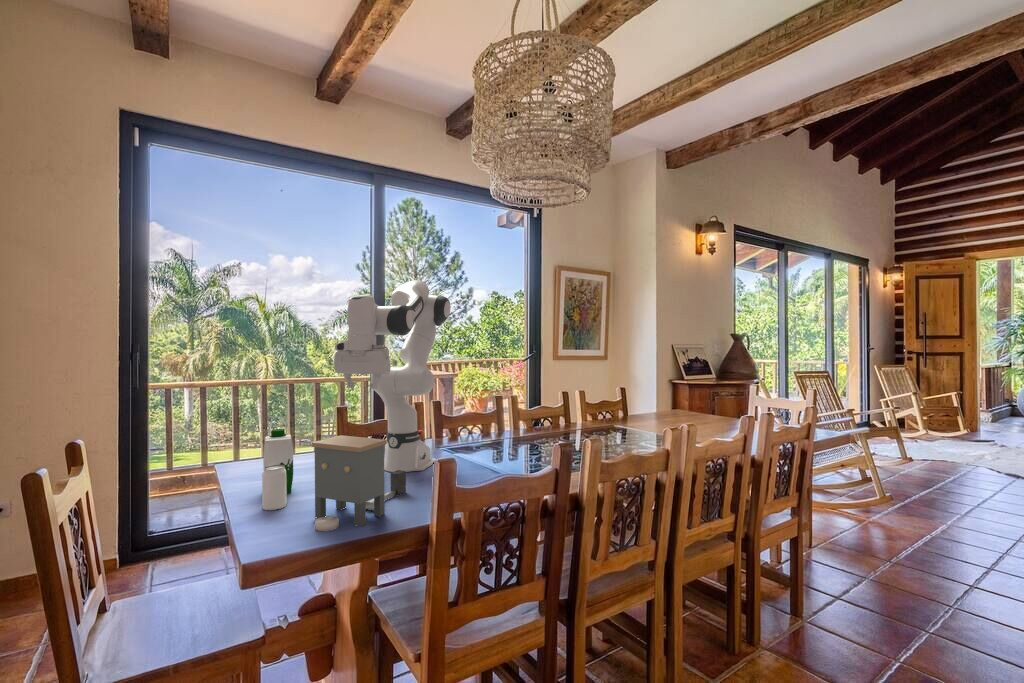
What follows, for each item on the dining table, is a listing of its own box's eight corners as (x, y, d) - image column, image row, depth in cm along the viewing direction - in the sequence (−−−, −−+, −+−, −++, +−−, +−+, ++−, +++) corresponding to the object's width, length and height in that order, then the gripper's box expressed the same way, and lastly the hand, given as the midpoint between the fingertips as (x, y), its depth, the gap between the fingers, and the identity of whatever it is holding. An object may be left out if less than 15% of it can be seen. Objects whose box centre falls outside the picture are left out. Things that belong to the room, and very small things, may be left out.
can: (264, 512, 145) (264, 471, 145) (260, 506, 150) (260, 466, 150) (288, 508, 149) (288, 467, 148) (284, 502, 154) (283, 463, 154)
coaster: (329, 522, 138) (329, 514, 138) (343, 526, 134) (343, 519, 134) (309, 528, 132) (310, 520, 133) (324, 533, 129) (324, 525, 129)
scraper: (393, 490, 165) (393, 469, 165) (411, 493, 162) (410, 471, 162) (355, 507, 148) (355, 484, 148) (374, 511, 146) (374, 486, 146)
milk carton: (292, 486, 170) (292, 427, 170) (294, 494, 162) (293, 432, 161) (263, 490, 166) (263, 429, 166) (263, 498, 158) (262, 434, 158)
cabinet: (340, 506, 150) (340, 435, 150) (387, 514, 143) (386, 439, 143) (311, 518, 140) (311, 442, 139) (360, 527, 133) (359, 447, 133)
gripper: (394, 344, 159) (395, 388, 159) (344, 344, 168) (344, 386, 168) (381, 345, 153) (382, 390, 154) (330, 345, 162) (331, 388, 162)
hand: (362, 388), depth 161 cm, fingers open, 8 cm apart
